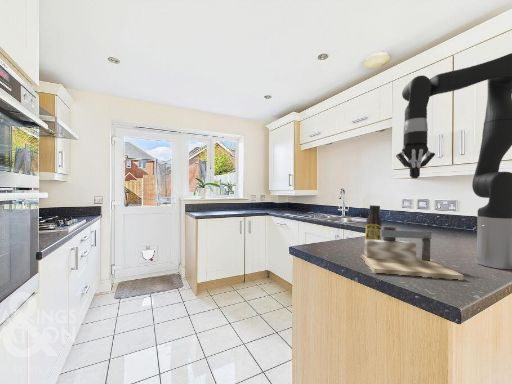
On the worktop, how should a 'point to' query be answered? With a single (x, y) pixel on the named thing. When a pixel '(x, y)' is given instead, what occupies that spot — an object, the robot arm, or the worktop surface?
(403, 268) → the door frame board
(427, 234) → the latch bar
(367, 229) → the sauce bottle
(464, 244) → the worktop surface
